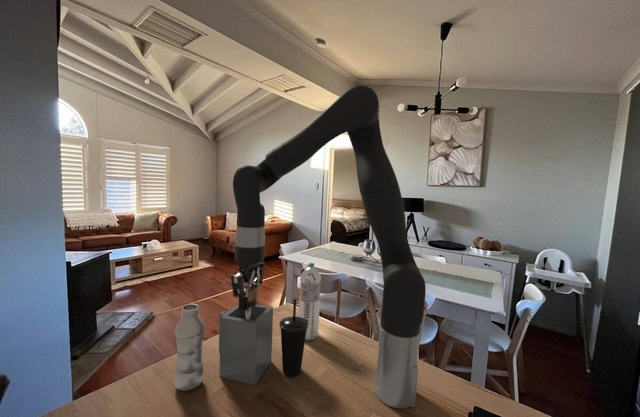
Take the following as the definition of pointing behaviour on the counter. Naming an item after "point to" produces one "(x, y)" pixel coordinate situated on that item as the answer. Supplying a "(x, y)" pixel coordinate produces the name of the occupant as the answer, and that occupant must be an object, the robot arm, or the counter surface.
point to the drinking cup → (293, 343)
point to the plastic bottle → (189, 349)
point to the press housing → (245, 343)
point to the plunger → (251, 300)
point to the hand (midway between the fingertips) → (248, 305)
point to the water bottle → (310, 300)
